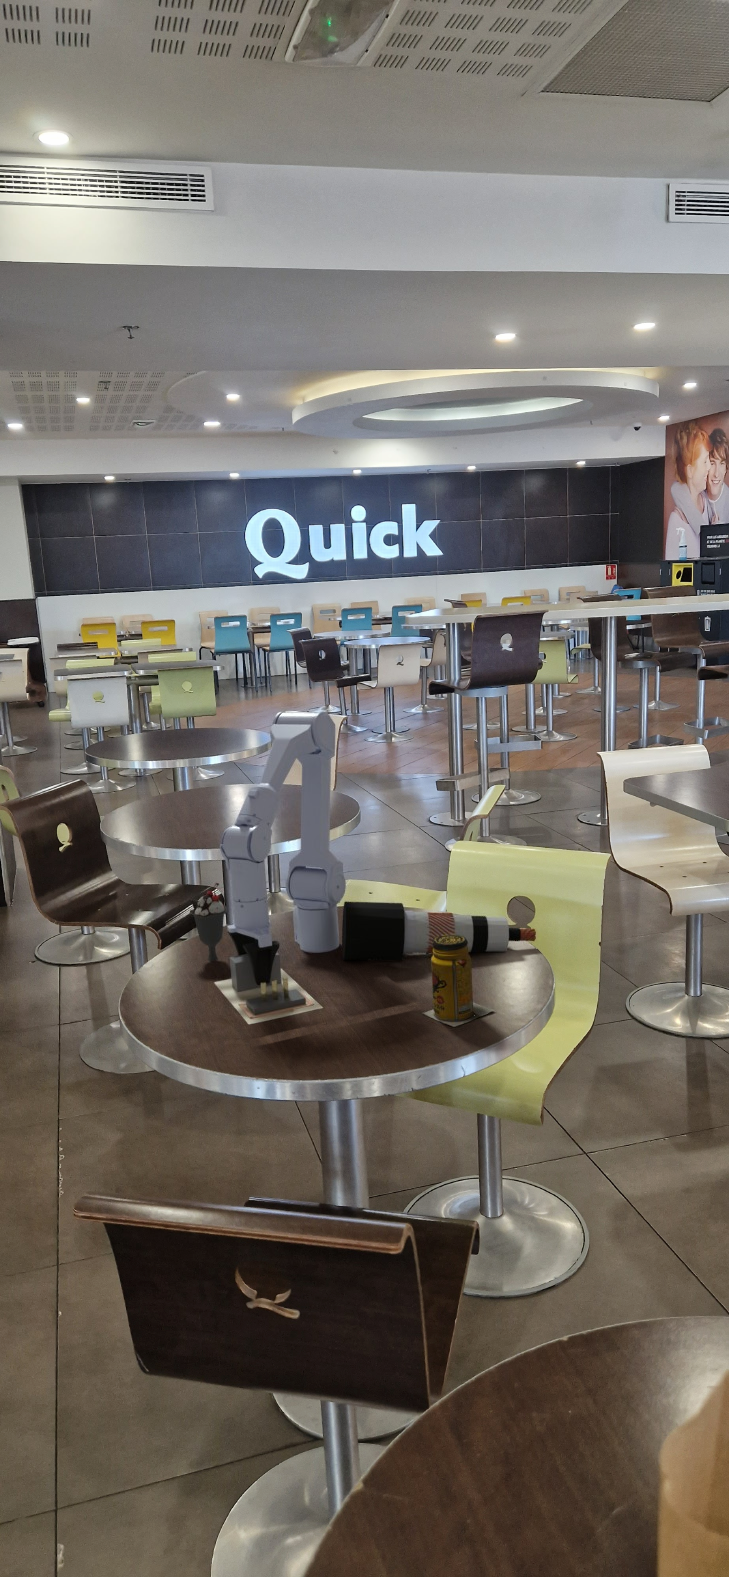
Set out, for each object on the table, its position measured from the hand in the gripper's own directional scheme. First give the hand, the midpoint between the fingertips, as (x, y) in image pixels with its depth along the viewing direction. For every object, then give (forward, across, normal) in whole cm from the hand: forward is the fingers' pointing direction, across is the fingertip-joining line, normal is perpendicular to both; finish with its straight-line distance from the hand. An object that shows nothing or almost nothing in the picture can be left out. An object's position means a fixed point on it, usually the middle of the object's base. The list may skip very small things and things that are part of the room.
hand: (256, 976), depth 167 cm
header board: (+2, +5, 0) cm, 6 cm away
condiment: (+3, +26, +24) cm, 35 cm away
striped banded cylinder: (+3, +1, +34) cm, 34 cm away
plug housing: (+1, 0, 0) cm, 1 cm away
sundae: (+3, -16, -3) cm, 17 cm away
